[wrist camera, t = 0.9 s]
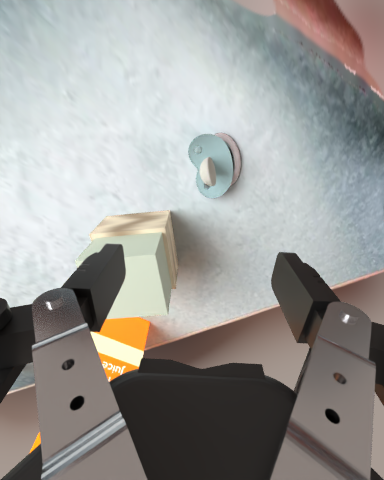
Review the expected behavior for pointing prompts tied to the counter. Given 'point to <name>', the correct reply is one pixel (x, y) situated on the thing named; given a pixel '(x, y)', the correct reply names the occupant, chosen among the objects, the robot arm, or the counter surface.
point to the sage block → (138, 275)
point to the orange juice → (119, 347)
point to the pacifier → (215, 163)
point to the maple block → (143, 232)
